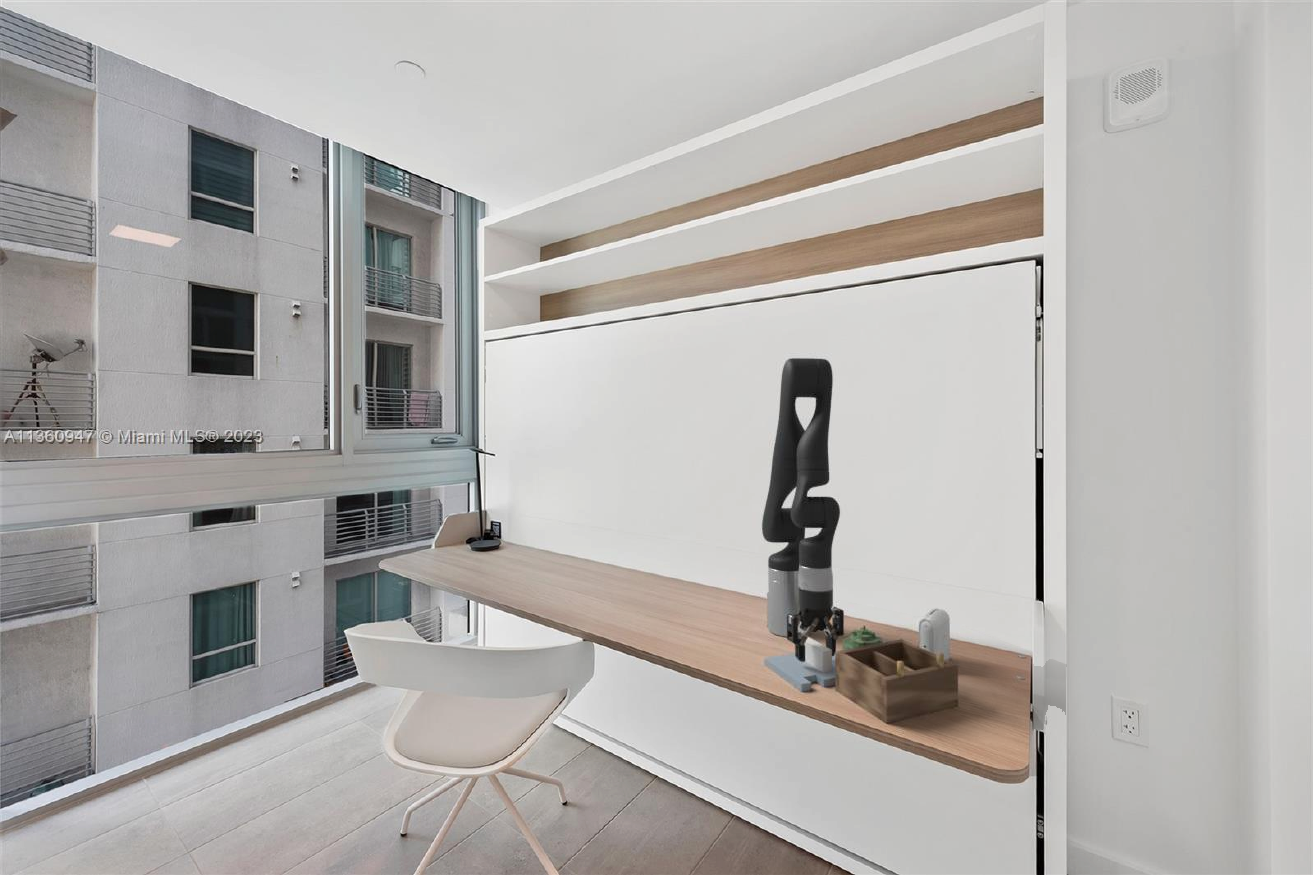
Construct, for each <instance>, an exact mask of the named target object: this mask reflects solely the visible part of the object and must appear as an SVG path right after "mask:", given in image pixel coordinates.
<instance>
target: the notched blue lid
mask: <svg viewBox="0 0 1313 875" xmlns="http://www.w3.org/2000/svg"><path fill="white" fill-rule="evenodd" d="M804 645H805V662H801V661H799V660H798V659H797V658H796V656H795V652H792V653H788V654H787V653H785V654H780V655H775V656H770V657H764V666H765V667H767V668H768V669H770V670H771V671H772V672H774V673H775V674H776V675H778V676H779V677H781V678H782V679H783V680H785V681H786V682H787V683H789V685H791V686H793V687H794V688H796V689H797V690H798V691H800V693H801V692H806V691H810V690H812V683H815V682H816V683H817V684H819V685H820V686H821V687H823V688H825V687H829V686H834V685H835V655H834V656H832V650H831V649H829V648H827V647H826V645H824V644H822V643H820V642H819V641H817V640H815V639H814V638H811V636H810V637H808V638H807V640H806V642H805V644H804Z"/></svg>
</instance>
